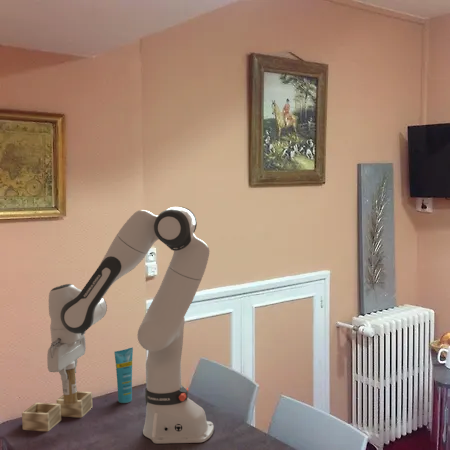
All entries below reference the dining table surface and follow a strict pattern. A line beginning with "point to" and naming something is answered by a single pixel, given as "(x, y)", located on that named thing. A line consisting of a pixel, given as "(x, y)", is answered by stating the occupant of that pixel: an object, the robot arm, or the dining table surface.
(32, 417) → the open square wooden box
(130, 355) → the tube
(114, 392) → the dining table surface
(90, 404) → the open wooden box
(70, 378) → the sprinkles bottle
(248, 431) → the dining table surface
